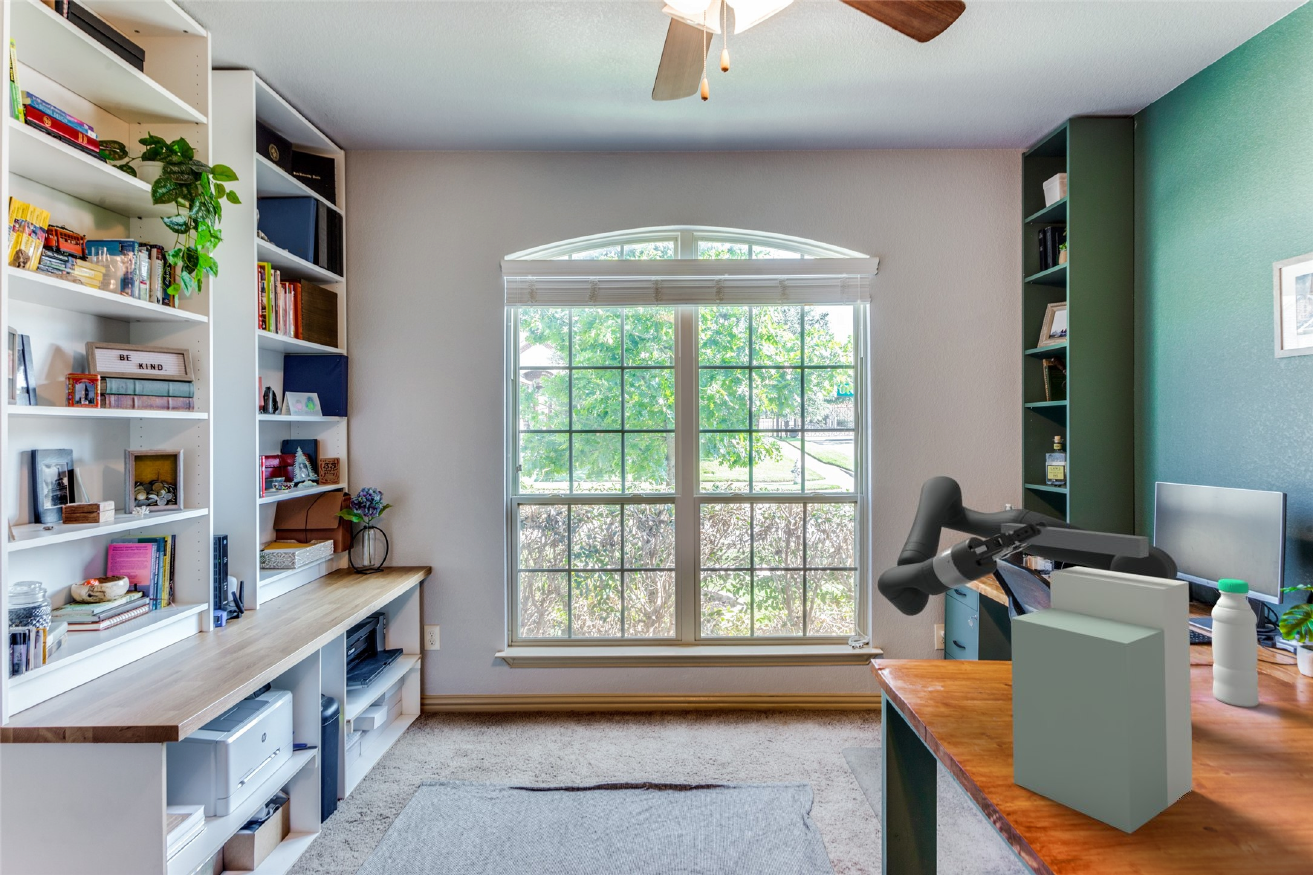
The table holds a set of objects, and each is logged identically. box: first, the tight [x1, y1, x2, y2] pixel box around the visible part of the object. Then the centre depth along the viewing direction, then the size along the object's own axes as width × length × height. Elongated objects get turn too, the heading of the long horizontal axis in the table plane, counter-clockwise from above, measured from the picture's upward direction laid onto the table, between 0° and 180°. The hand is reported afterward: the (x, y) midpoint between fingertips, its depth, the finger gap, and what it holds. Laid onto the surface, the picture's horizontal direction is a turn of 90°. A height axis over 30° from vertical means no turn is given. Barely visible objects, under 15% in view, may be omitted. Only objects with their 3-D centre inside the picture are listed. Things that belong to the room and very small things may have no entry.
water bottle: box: [1211, 578, 1260, 708], centre depth 134 cm, size 7×7×25 cm
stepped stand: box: [1010, 565, 1194, 835], centre depth 101 cm, size 16×21×32 cm
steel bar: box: [1001, 523, 1149, 558], centre depth 111 cm, size 22×3×3 cm, turn 32°
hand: (1041, 527), depth 114 cm, fingers closed on steel bar, 3 cm apart
